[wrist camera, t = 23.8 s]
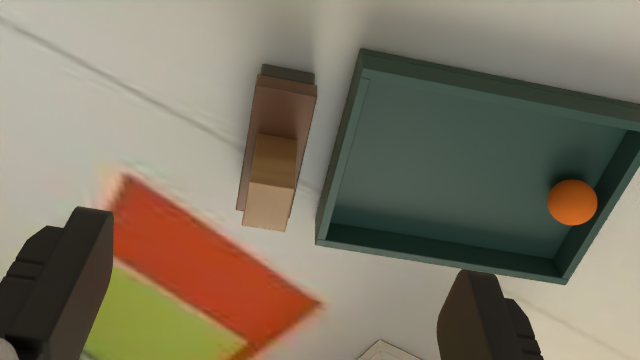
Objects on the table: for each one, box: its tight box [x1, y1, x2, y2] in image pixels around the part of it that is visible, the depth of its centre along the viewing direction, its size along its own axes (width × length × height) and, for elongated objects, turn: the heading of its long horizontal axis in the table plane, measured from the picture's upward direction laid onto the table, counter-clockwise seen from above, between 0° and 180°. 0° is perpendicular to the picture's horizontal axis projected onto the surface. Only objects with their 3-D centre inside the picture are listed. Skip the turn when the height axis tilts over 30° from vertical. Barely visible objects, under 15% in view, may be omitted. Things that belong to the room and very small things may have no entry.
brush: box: [236, 64, 317, 232], centre depth 35 cm, size 9×4×8 cm, turn 168°
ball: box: [547, 179, 597, 225], centre depth 39 cm, size 3×3×3 cm
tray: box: [315, 49, 640, 285], centre depth 39 cm, size 13×18×3 cm
